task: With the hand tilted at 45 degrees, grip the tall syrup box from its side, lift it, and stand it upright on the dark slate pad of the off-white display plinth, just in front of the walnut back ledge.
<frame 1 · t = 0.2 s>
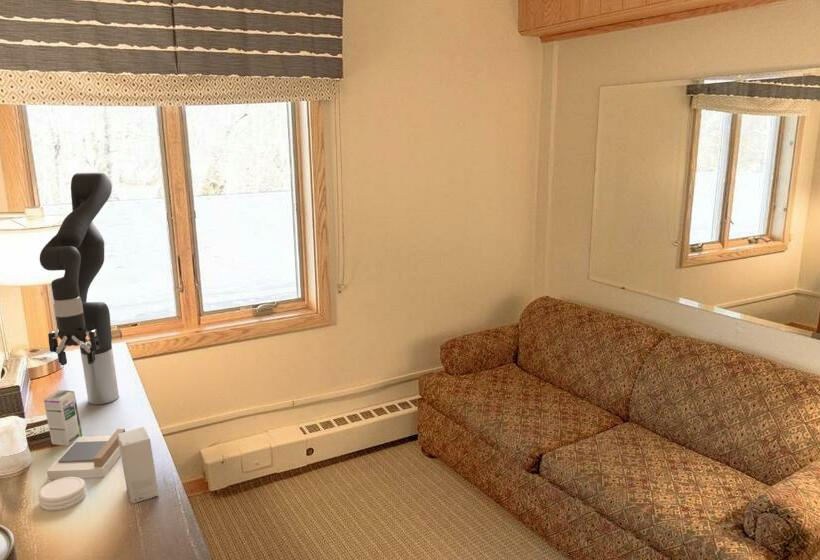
hand: (77, 364, 192), 18 cm above the table, tool pointing down, fingers open, 8 cm apart
coaster: (63, 500, 155), on the table
display plinth: (91, 460, 172), on the table
skincare box: (141, 493, 157), on the table
syrup box: (67, 441, 183), on the table
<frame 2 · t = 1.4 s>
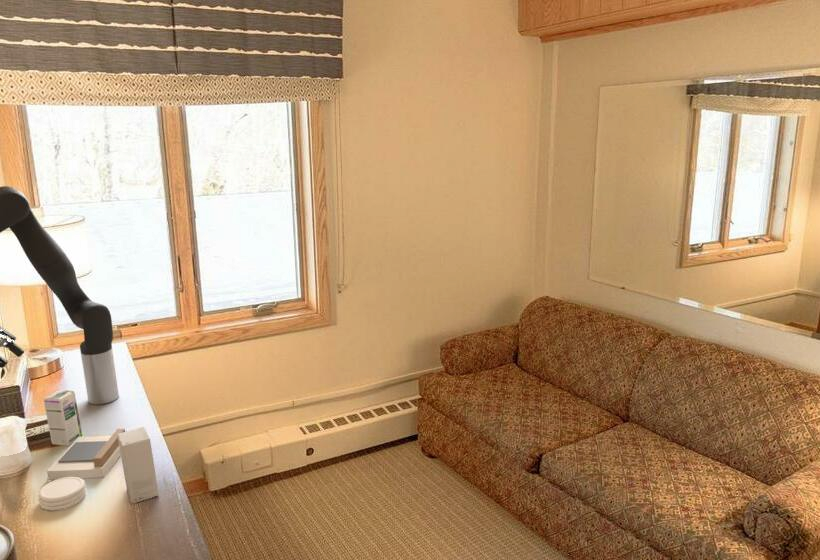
hand: (13, 359, 178), 25 cm above the table, tool tilted 45°, fingers open, 8 cm apart
nothing on the table moved.
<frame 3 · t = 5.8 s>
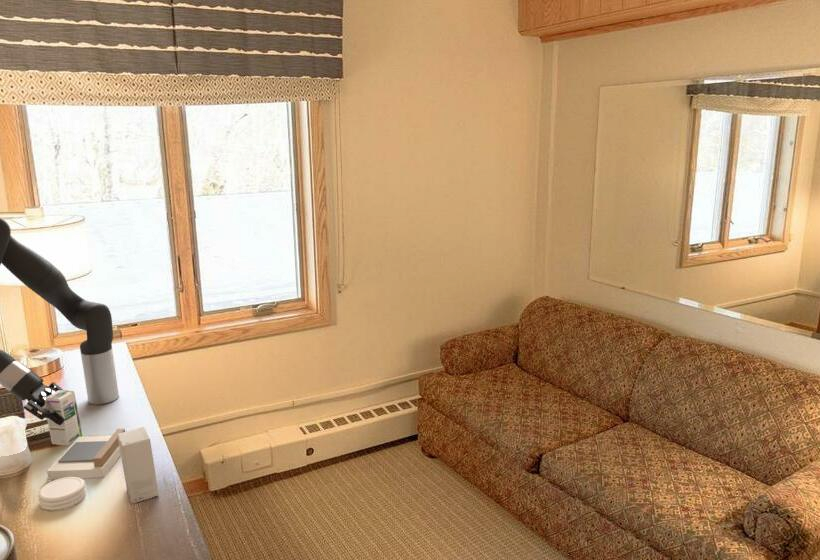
hand: (68, 416, 181), 7 cm above the table, tool tilted 45°, fingers closed on syrup box, 6 cm apart
syrup box: (67, 441, 183), on the table, touching gripper
everything else where it was.
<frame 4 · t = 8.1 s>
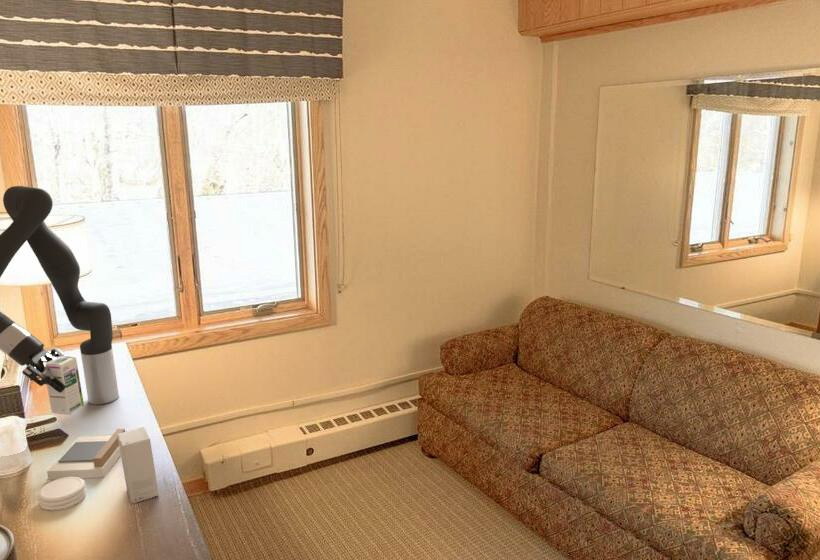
hand: (70, 384, 171), 20 cm above the table, tool tilted 45°, fingers closed on syrup box, 6 cm apart
syrup box: (67, 410, 173), point 13 cm above the table, touching gripper
everything else where it was.
when the fingers open (12 cm above the table, at t = 10.7 s): syrup box drops 1 cm, resting on display plinth.
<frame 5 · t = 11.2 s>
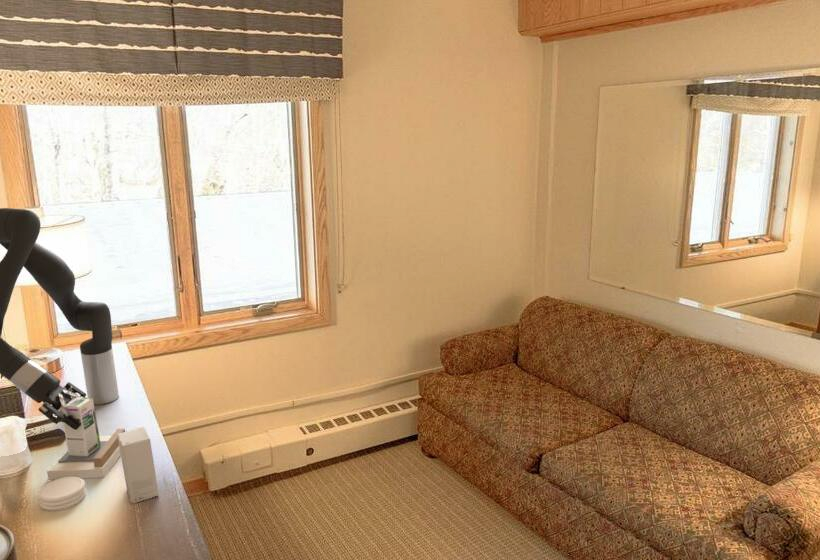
hand: (86, 419, 169), 12 cm above the table, tool tilted 45°, fingers open, 8 cm apart
syrup box: (84, 451, 171), point 3 cm above the table, touching display plinth
everything else where it was.
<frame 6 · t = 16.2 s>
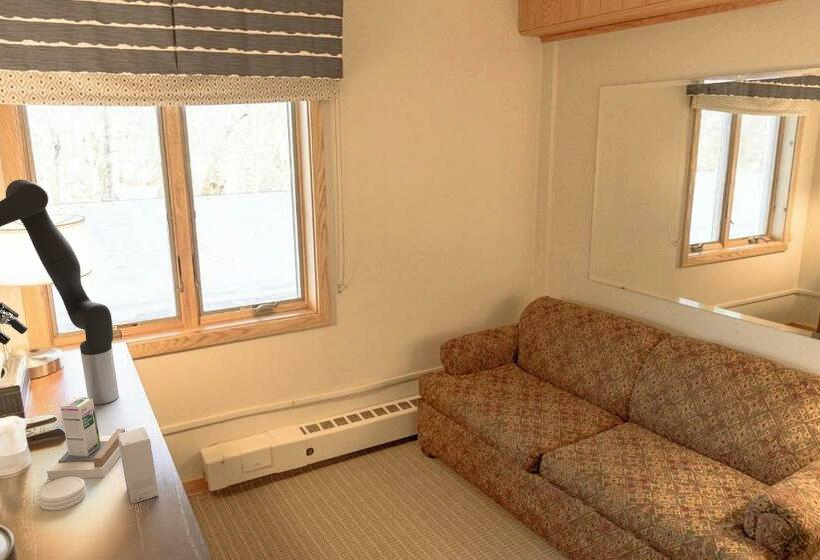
hand: (16, 336, 173), 33 cm above the table, tool tilted 45°, fingers open, 8 cm apart
nothing on the table moved.
at the end: syrup box 0.4 cm from the target spot on the display plinth, point 2.8 cm above the display plinth's base; syrup box tilted 0°; the gripper is holding nothing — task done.
